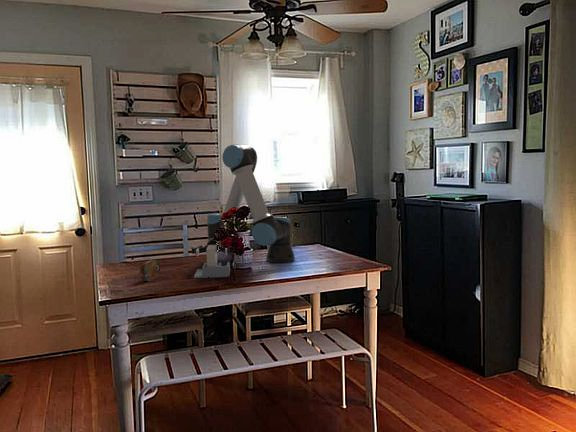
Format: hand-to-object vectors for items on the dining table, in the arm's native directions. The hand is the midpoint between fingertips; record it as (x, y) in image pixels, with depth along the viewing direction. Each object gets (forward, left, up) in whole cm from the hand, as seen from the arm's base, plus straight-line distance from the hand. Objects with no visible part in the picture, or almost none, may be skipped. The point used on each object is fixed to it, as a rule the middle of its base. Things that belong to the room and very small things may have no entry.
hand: (211, 253), depth 234 cm
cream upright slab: (0, 0, -9) cm, 9 cm away
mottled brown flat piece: (+28, +6, -10) cm, 30 cm away
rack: (0, 0, -10) cm, 10 cm away
